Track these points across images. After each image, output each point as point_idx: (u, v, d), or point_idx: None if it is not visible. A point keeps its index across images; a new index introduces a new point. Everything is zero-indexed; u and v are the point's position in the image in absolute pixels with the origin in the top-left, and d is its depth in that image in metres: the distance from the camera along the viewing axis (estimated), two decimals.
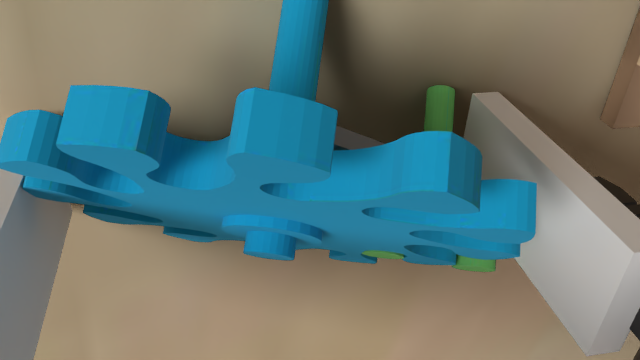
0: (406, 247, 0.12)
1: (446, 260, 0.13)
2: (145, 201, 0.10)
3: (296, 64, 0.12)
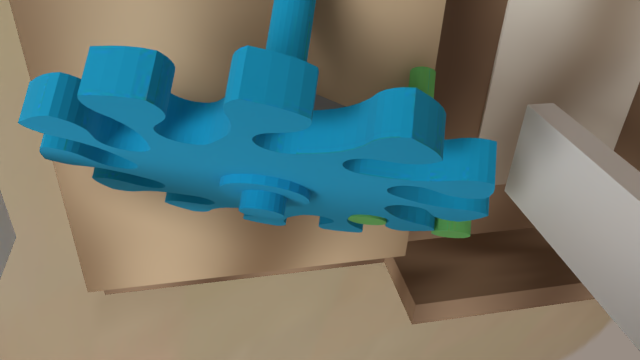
0: (387, 209, 0.13)
1: (424, 224, 0.14)
2: (150, 160, 0.11)
3: (287, 42, 0.13)
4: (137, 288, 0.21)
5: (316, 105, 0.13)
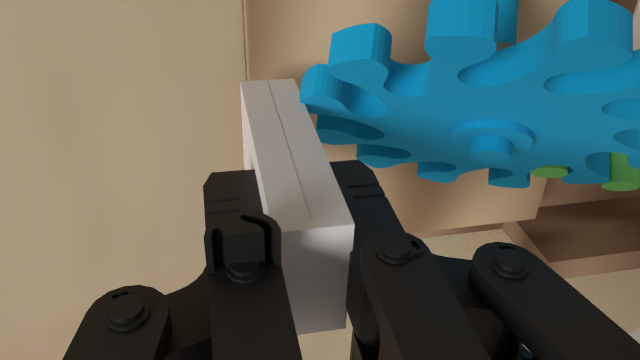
0: (585, 158, 0.15)
1: (605, 175, 0.16)
2: (408, 107, 0.13)
3: (505, 9, 0.15)
4: None
5: None
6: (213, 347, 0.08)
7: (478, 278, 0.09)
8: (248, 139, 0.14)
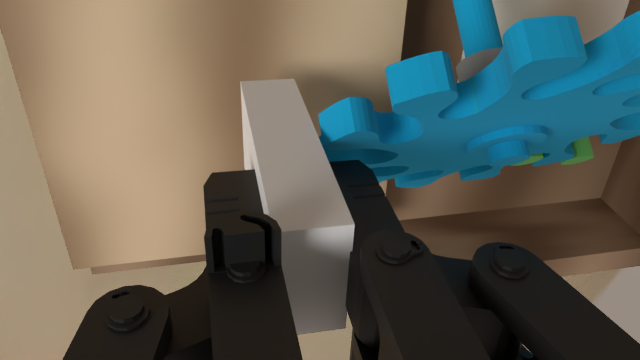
0: (568, 143, 0.16)
1: (572, 154, 0.18)
2: (446, 128, 0.13)
3: (488, 13, 0.15)
4: (123, 268, 0.22)
5: None
6: (213, 347, 0.08)
7: (478, 278, 0.09)
8: (248, 139, 0.14)
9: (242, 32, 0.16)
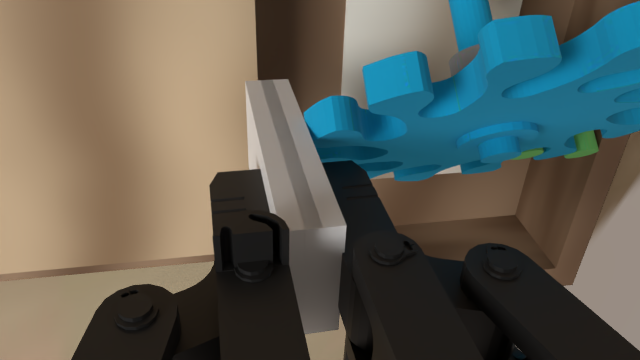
0: (567, 138, 0.16)
1: (574, 148, 0.17)
2: (431, 126, 0.13)
3: (481, 7, 0.15)
4: (4, 278, 0.21)
5: None
6: (221, 345, 0.08)
7: (470, 279, 0.09)
8: (253, 139, 0.14)
9: (76, 39, 0.15)
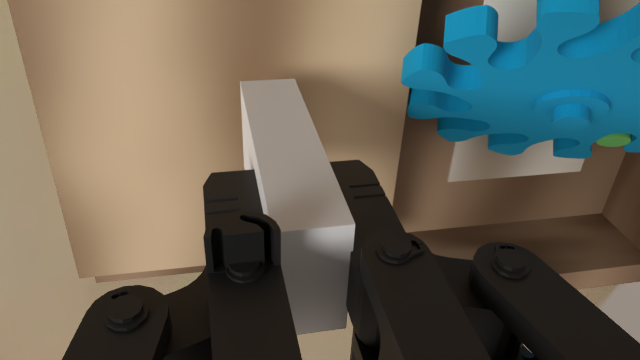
0: None
1: None
2: (503, 79, 0.15)
3: None
4: (128, 277, 0.22)
5: None
6: (213, 347, 0.08)
7: (478, 278, 0.09)
8: (248, 139, 0.14)
9: (256, 46, 0.16)
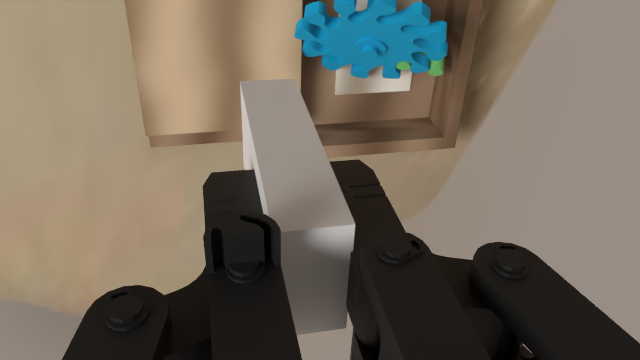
0: (411, 56, 0.37)
1: (425, 66, 0.38)
2: (335, 33, 0.35)
3: None
4: (166, 144, 0.42)
5: None
6: (213, 347, 0.08)
7: (479, 278, 0.09)
8: (248, 139, 0.14)
9: (228, 20, 0.36)
